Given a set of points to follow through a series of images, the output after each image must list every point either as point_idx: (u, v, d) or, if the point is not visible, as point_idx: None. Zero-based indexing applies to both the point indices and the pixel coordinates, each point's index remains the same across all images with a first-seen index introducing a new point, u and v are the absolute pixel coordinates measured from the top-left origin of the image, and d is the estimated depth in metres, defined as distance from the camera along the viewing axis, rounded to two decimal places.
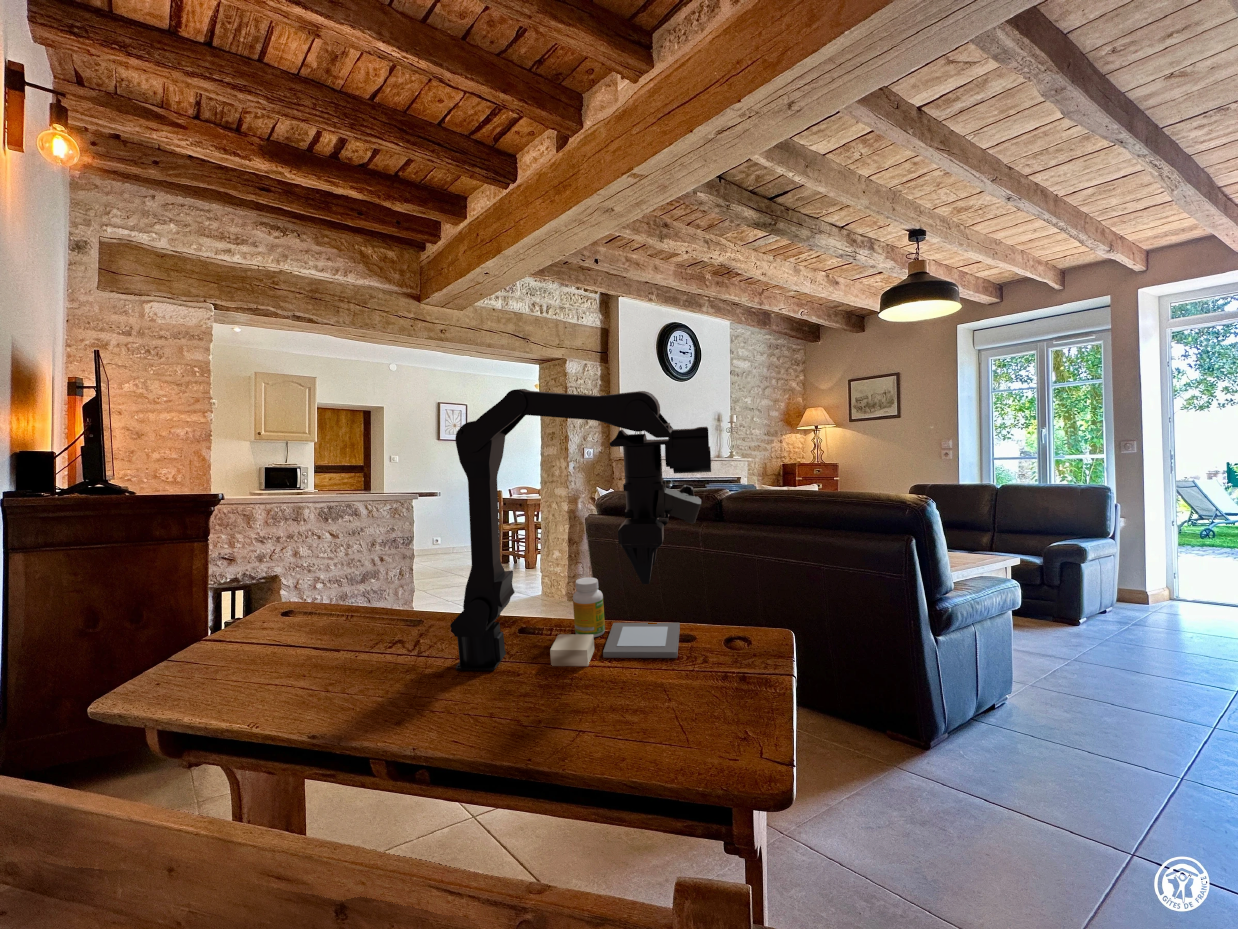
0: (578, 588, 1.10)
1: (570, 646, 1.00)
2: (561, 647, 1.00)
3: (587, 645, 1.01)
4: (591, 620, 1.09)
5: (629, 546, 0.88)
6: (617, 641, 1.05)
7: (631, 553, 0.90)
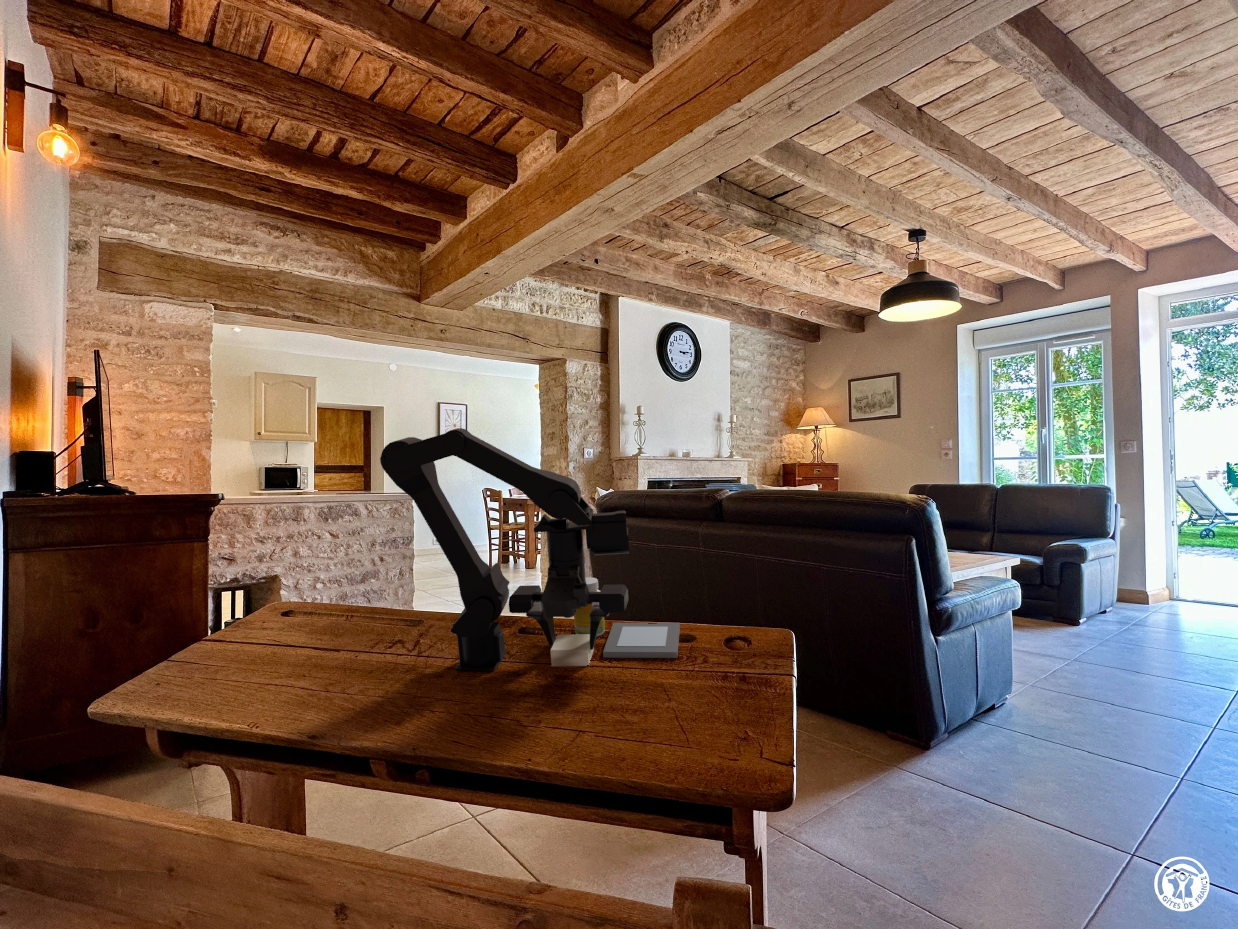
0: None
1: (570, 646, 1.00)
2: (561, 647, 1.00)
3: (587, 645, 1.01)
4: None
5: None
6: (617, 641, 1.05)
7: None
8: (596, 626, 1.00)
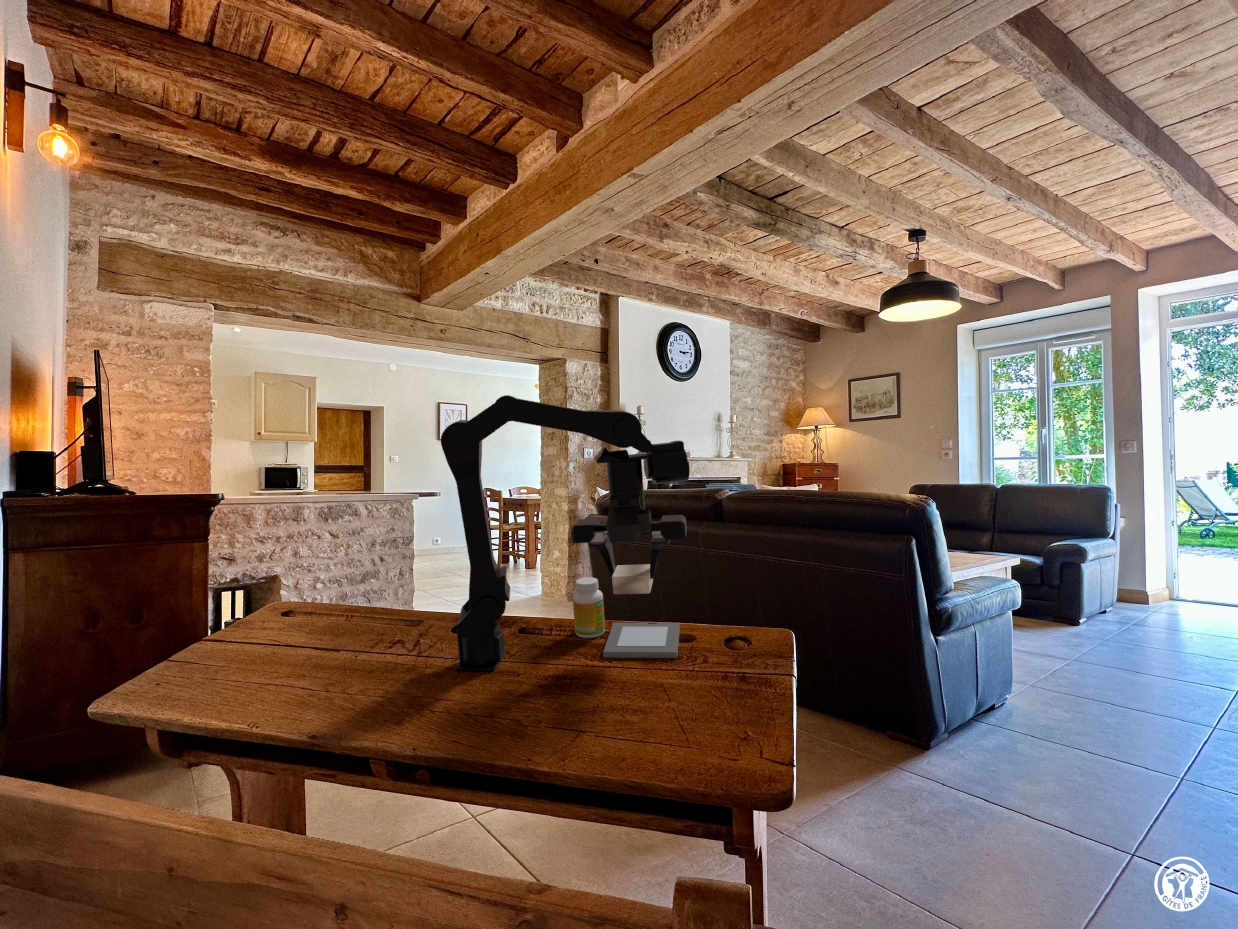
0: (578, 588, 1.10)
1: (631, 573, 1.03)
2: (623, 574, 1.03)
3: (648, 572, 1.03)
4: (591, 620, 1.09)
5: None
6: (617, 641, 1.05)
7: None
8: (656, 554, 1.02)
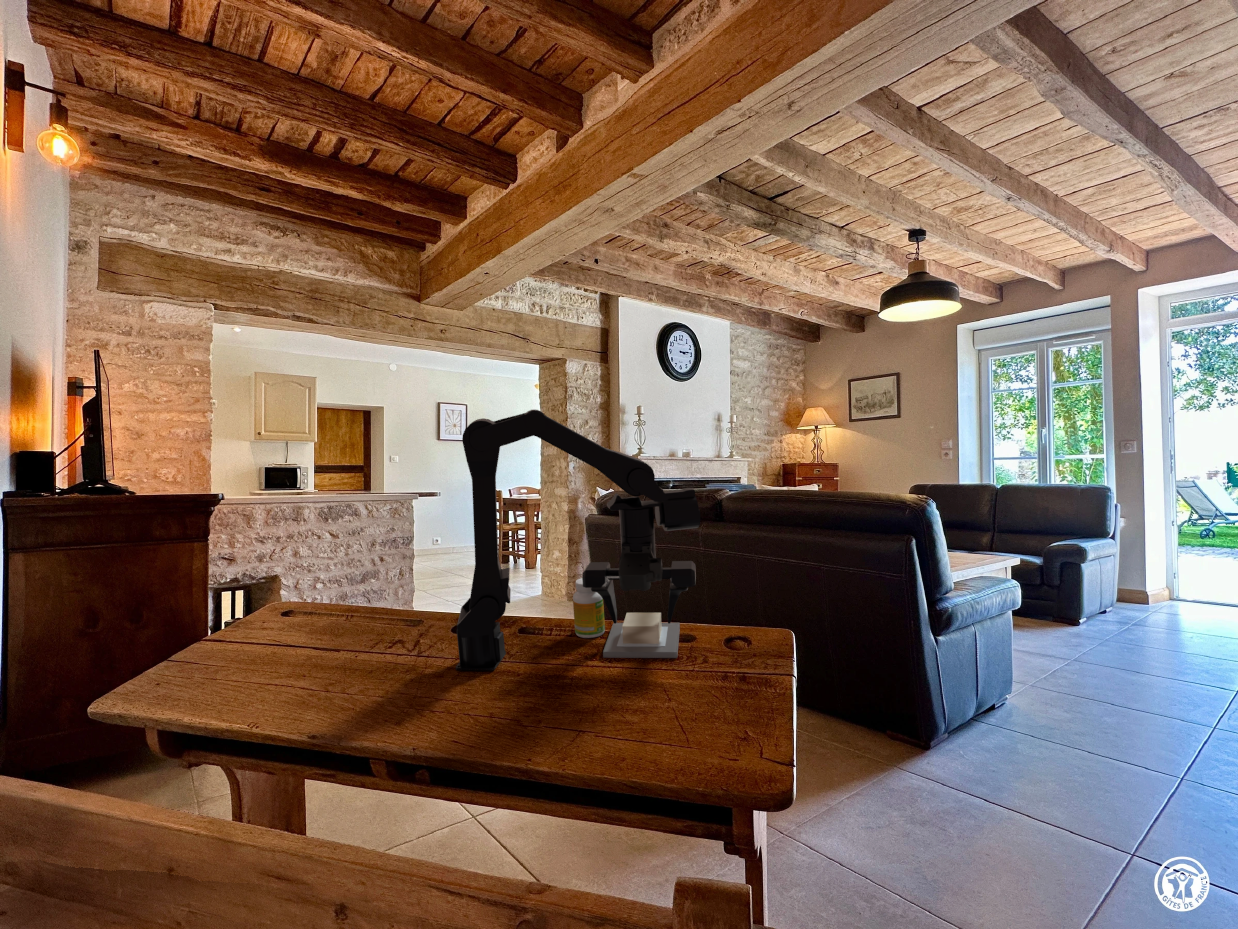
0: (578, 588, 1.10)
1: (641, 623, 1.05)
2: (633, 624, 1.04)
3: (657, 622, 1.05)
4: (591, 620, 1.09)
5: None
6: (617, 641, 1.05)
7: None
8: (675, 600, 1.04)
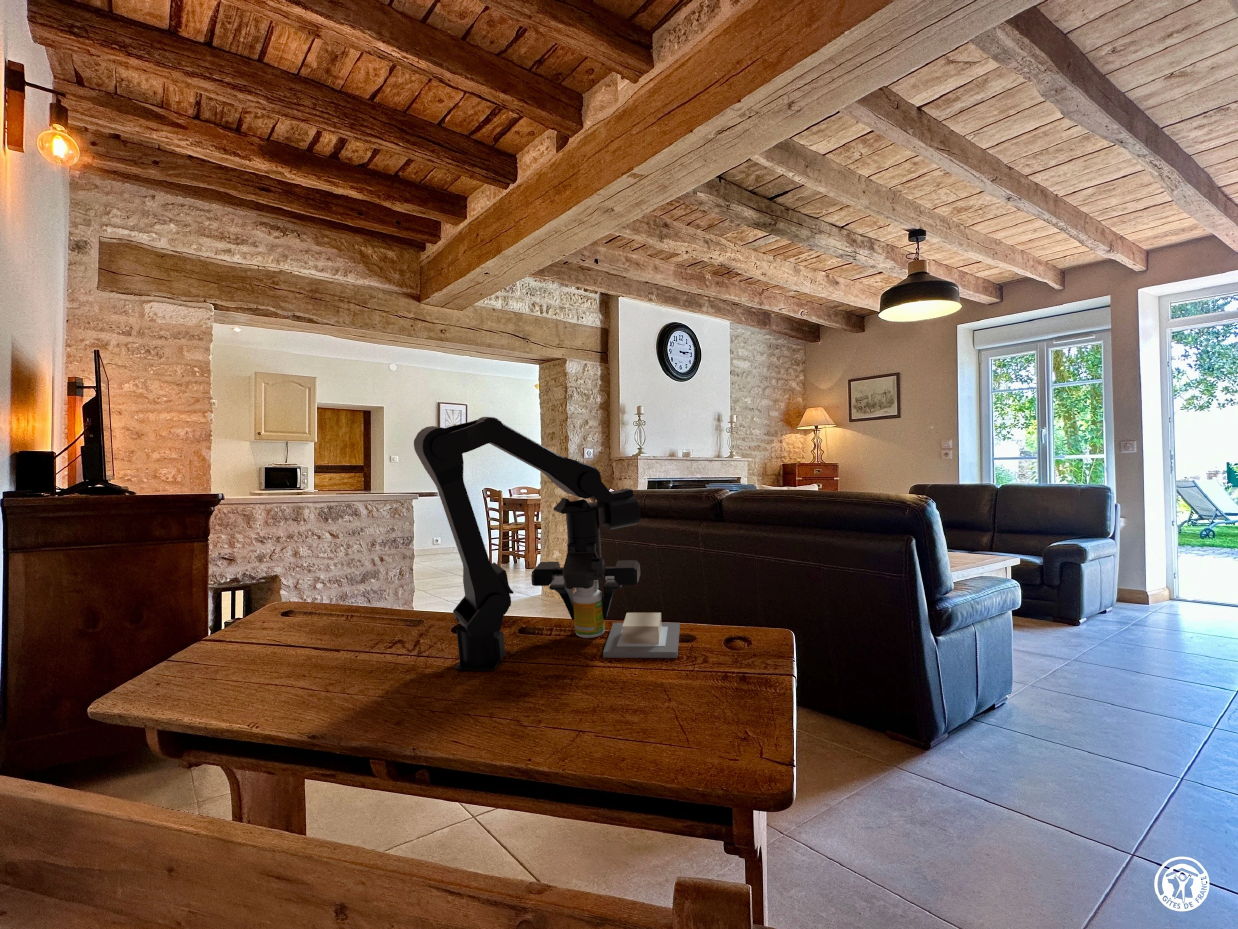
0: (578, 588, 1.10)
1: (641, 623, 1.05)
2: (633, 624, 1.04)
3: (657, 622, 1.05)
4: (591, 620, 1.09)
5: None
6: (617, 641, 1.05)
7: None
8: (609, 598, 1.09)
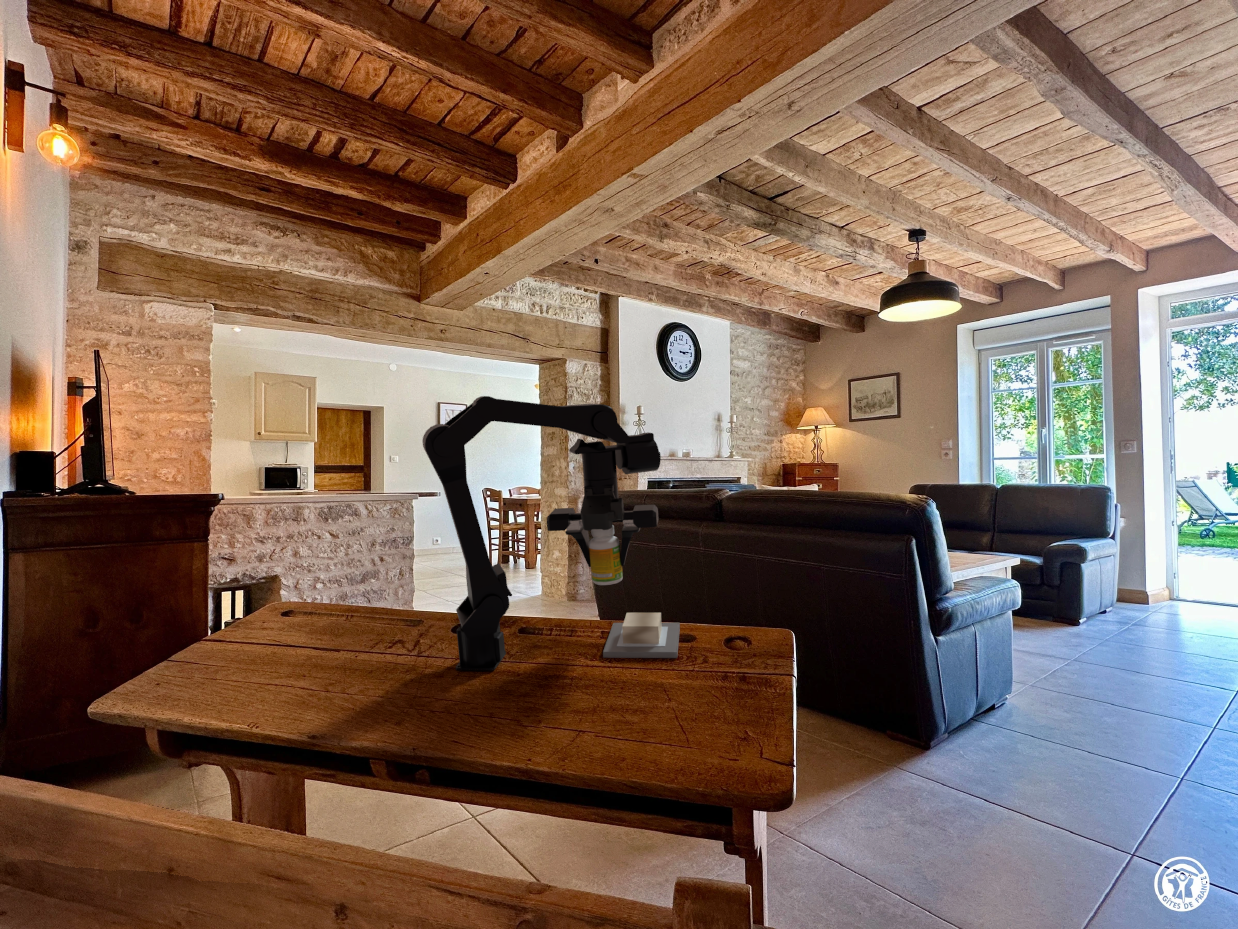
0: (594, 534, 1.06)
1: (641, 623, 1.05)
2: (633, 624, 1.04)
3: (657, 622, 1.05)
4: (609, 566, 1.06)
5: None
6: (617, 641, 1.05)
7: None
8: (627, 542, 1.06)
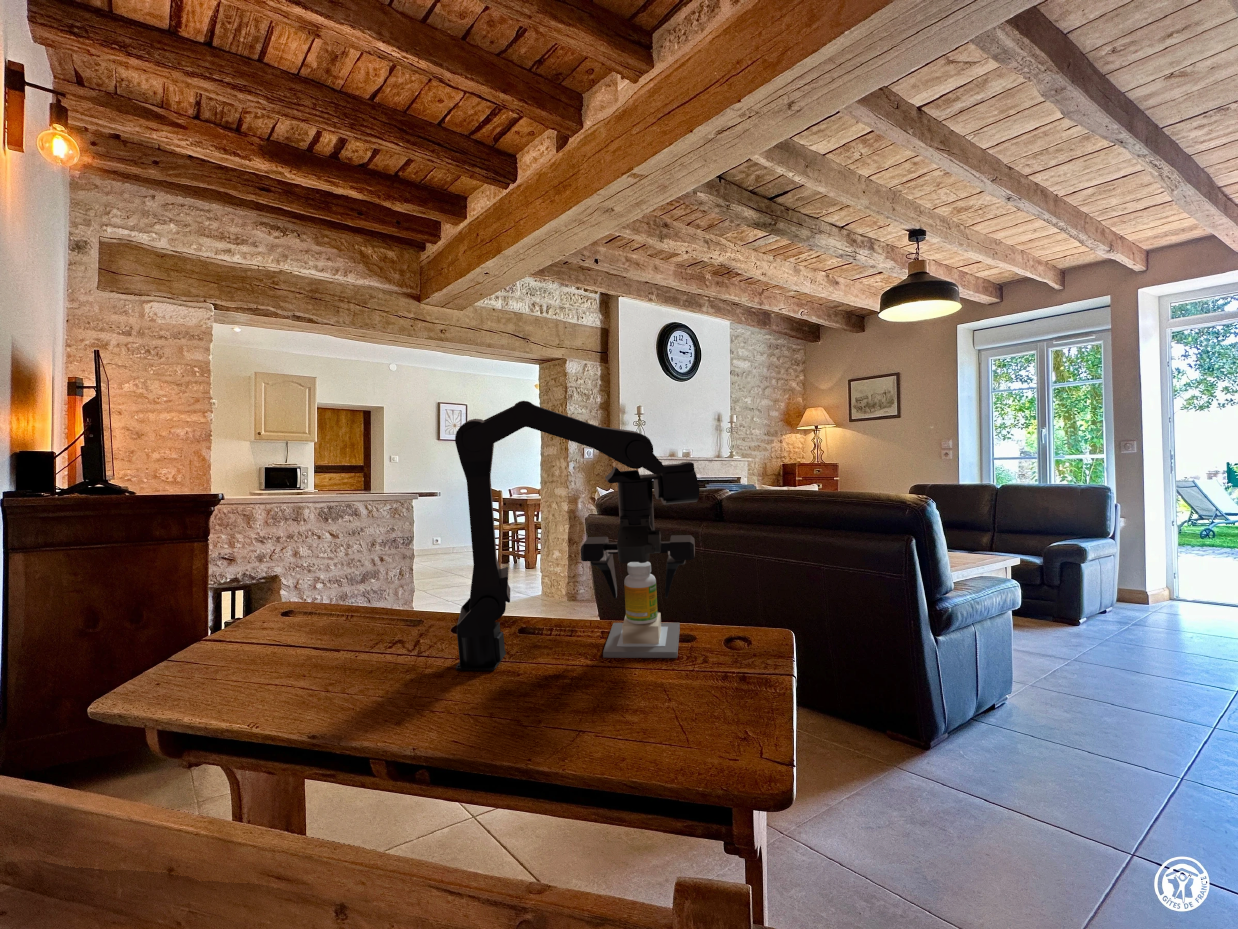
0: (630, 571, 1.04)
1: None
2: (632, 624, 1.04)
3: (657, 622, 1.05)
4: (645, 605, 1.03)
5: None
6: (617, 641, 1.05)
7: None
8: (672, 574, 1.03)
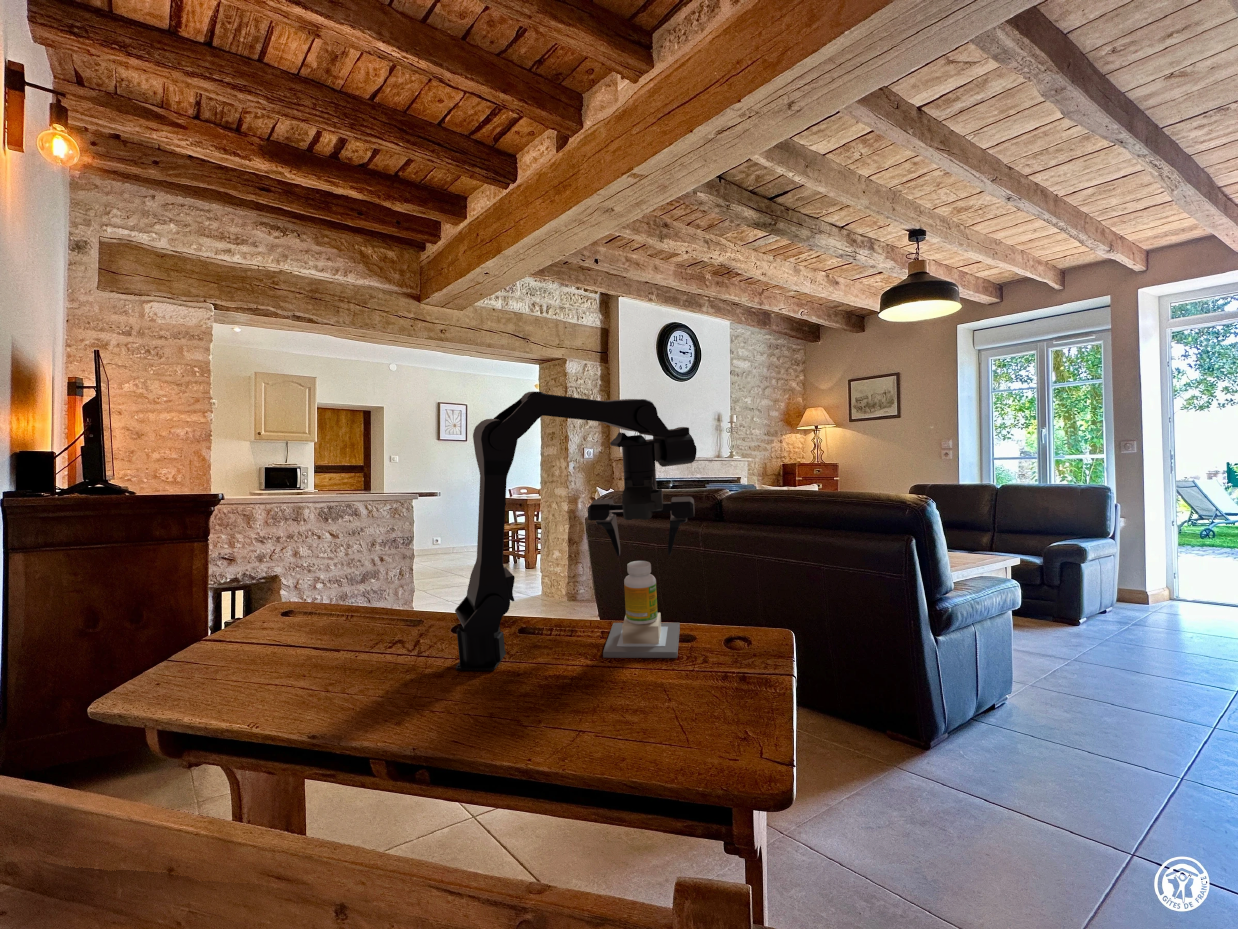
0: (630, 572, 1.04)
1: None
2: (632, 624, 1.04)
3: (657, 622, 1.05)
4: (645, 605, 1.03)
5: None
6: (617, 641, 1.05)
7: None
8: (674, 532, 1.10)
